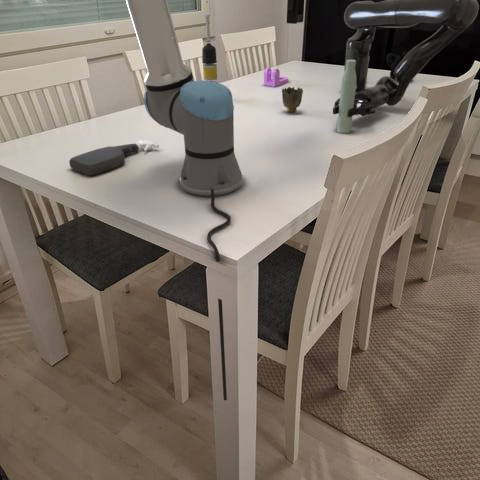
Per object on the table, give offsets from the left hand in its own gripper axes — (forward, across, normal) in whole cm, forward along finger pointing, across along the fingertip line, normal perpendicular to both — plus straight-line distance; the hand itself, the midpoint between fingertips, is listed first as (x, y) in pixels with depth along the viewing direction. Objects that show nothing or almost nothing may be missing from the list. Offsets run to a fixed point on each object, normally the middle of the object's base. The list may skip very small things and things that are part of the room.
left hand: (295, 22), depth 123 cm
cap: (-2, 0, 0) cm, 2 cm away
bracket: (+32, +62, +33) cm, 77 cm away
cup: (+32, +23, +10) cm, 41 cm away
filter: (+32, +27, +46) cm, 62 cm away
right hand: (+25, +9, -13) cm, 30 cm away
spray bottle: (+32, -40, +35) cm, 62 cm away
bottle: (+32, +12, -14) cm, 37 cm away
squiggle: (+32, +90, -14) cm, 97 cm away
